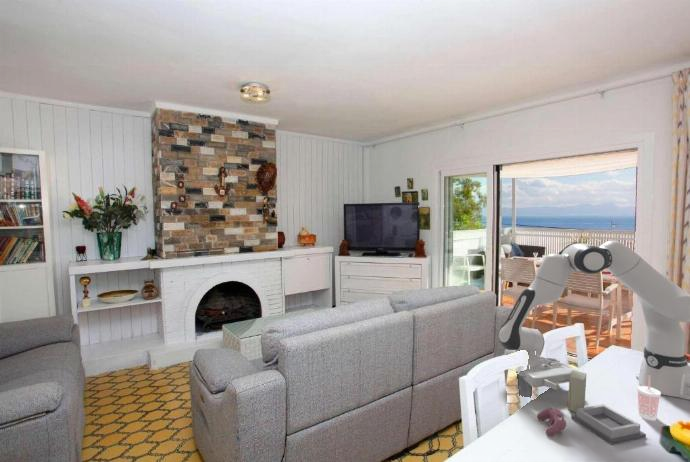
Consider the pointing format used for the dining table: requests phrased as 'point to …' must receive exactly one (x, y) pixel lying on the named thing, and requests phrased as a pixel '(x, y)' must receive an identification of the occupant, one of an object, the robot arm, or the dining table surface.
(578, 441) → the dining table surface
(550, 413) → the video game controller
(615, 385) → the dining table surface
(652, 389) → the beverage cup
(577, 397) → the skincare box
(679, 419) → the dining table surface
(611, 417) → the socket dock
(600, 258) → the robot arm
